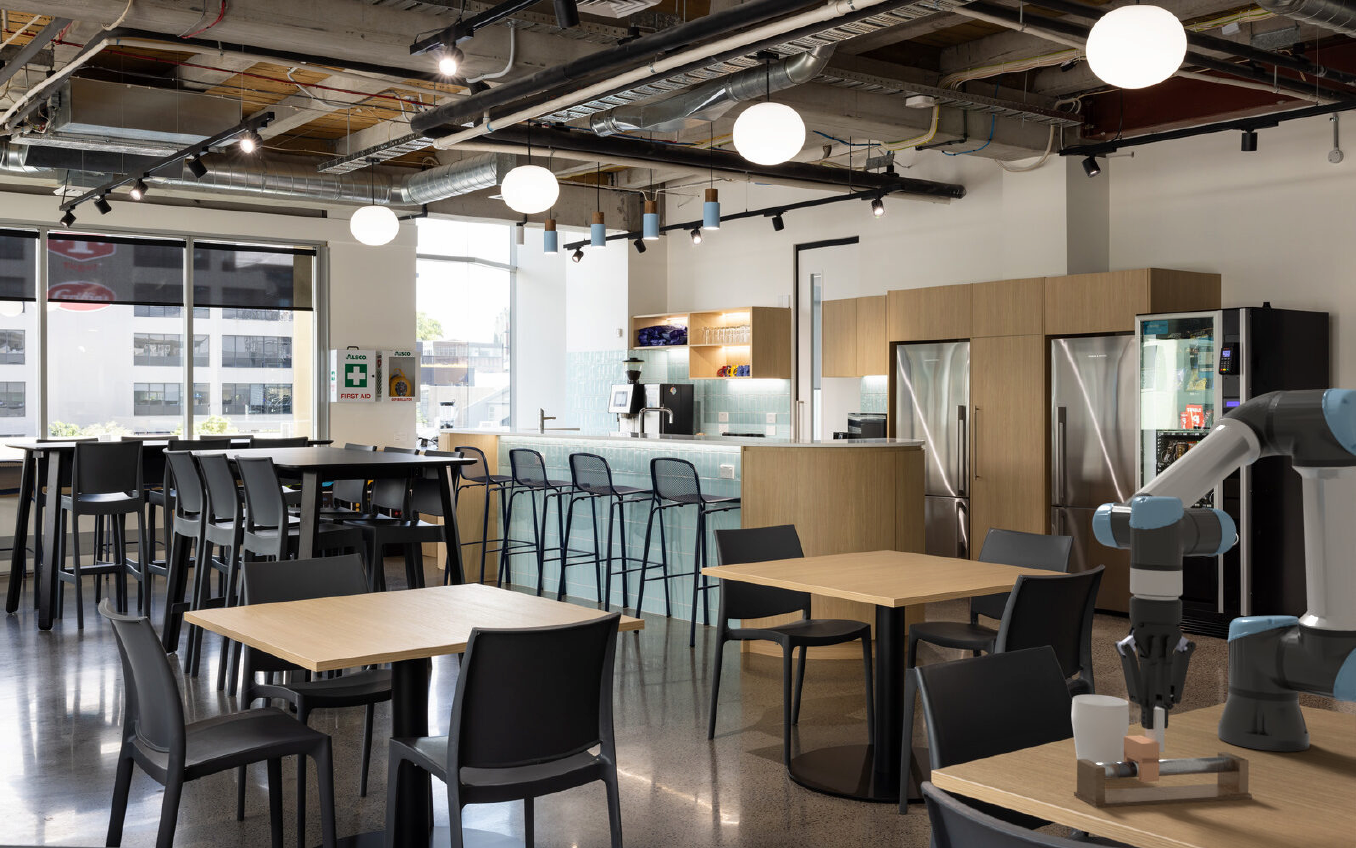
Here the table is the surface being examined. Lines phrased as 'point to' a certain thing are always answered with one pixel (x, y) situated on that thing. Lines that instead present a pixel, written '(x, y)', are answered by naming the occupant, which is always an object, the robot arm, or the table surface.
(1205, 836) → the table surface
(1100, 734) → the cup
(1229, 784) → the wooden rod stand
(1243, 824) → the table surface
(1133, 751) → the tan block
